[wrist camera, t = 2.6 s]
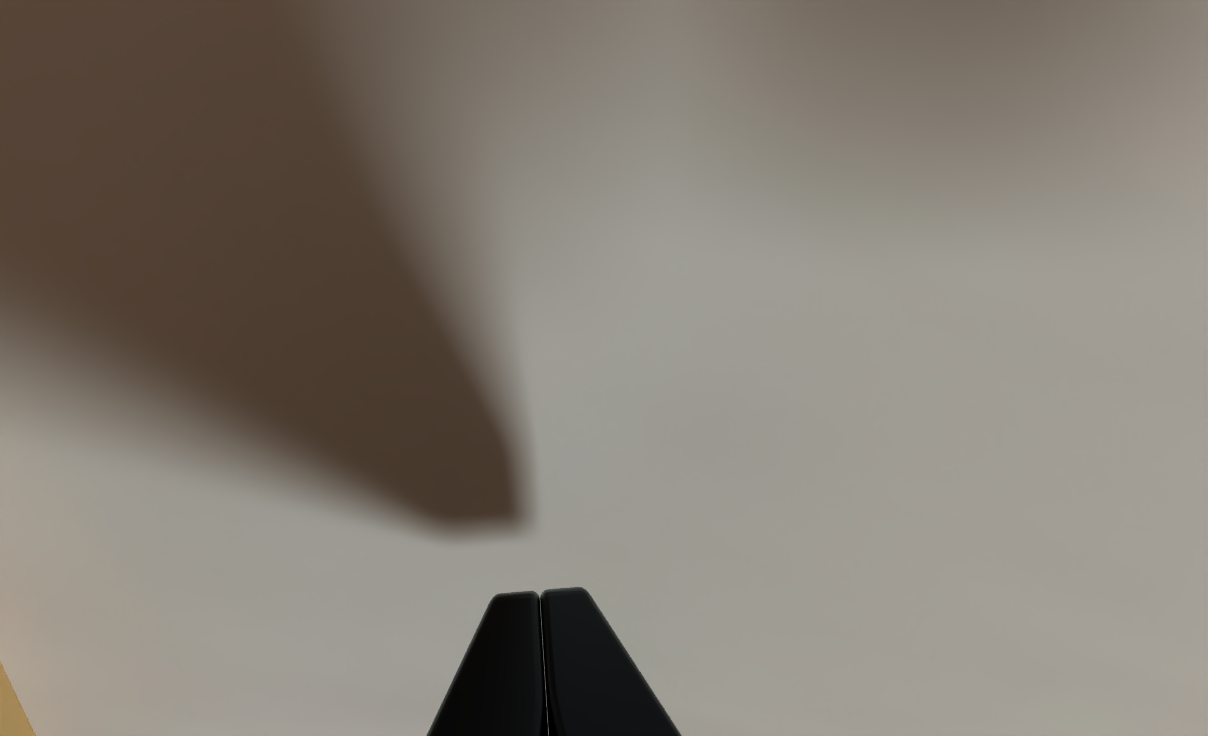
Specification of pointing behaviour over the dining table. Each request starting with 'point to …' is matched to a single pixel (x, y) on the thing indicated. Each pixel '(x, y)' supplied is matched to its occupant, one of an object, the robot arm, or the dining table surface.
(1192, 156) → the dining table surface
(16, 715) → the tan cardboard box
